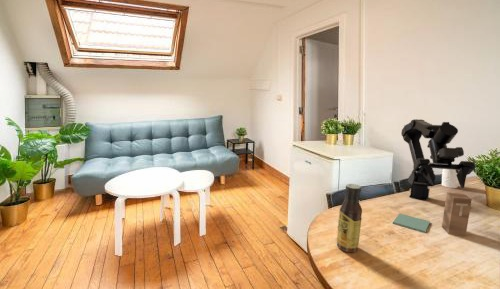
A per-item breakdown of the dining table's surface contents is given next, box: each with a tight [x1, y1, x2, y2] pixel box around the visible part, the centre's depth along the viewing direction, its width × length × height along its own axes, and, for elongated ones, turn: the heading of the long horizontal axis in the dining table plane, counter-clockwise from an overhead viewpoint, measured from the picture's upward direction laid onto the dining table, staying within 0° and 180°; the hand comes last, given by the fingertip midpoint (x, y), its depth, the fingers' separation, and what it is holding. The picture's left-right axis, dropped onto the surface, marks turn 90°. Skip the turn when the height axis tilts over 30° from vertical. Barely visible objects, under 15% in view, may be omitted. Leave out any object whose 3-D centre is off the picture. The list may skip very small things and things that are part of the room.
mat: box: [392, 212, 431, 234], centre depth 96 cm, size 10×10×1 cm
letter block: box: [441, 191, 473, 237], centre depth 89 cm, size 5×5×13 cm
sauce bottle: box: [336, 183, 363, 253], centre depth 78 cm, size 6×6×20 cm
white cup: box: [441, 169, 459, 189], centre depth 137 cm, size 8×8×10 cm
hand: (448, 186), depth 95 cm, fingers open, 9 cm apart
